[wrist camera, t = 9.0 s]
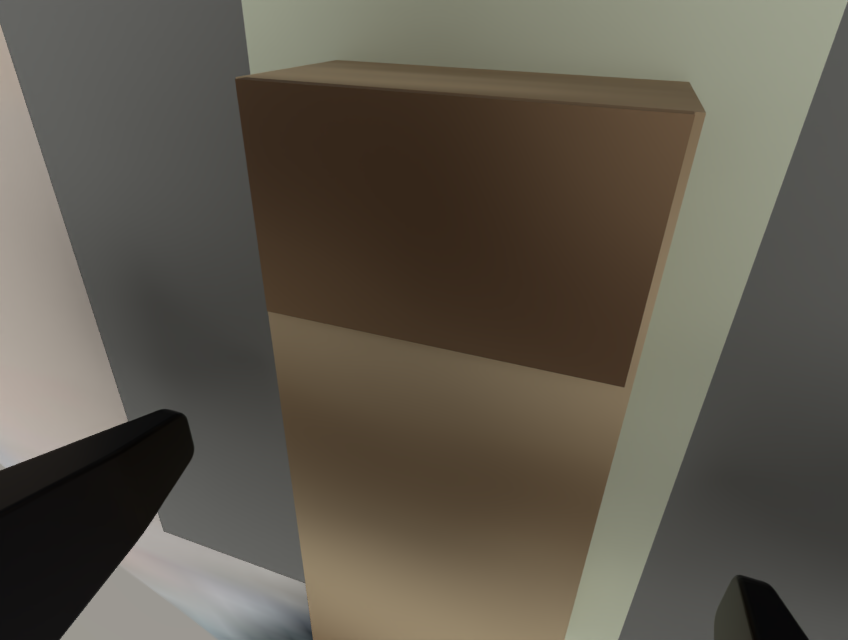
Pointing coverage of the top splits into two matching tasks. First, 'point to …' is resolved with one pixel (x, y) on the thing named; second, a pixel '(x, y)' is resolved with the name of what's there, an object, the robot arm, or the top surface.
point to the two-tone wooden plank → (457, 325)
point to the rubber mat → (671, 318)
